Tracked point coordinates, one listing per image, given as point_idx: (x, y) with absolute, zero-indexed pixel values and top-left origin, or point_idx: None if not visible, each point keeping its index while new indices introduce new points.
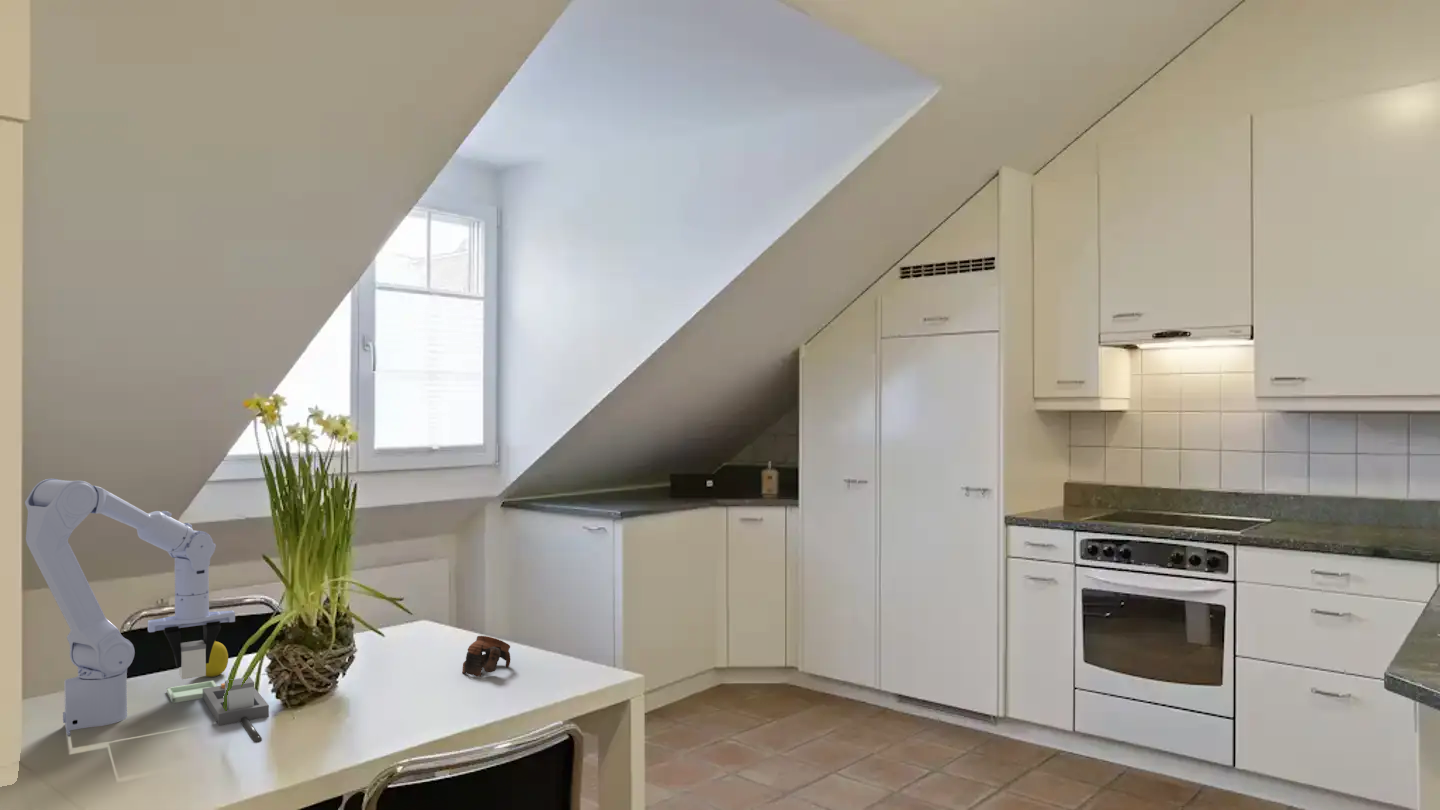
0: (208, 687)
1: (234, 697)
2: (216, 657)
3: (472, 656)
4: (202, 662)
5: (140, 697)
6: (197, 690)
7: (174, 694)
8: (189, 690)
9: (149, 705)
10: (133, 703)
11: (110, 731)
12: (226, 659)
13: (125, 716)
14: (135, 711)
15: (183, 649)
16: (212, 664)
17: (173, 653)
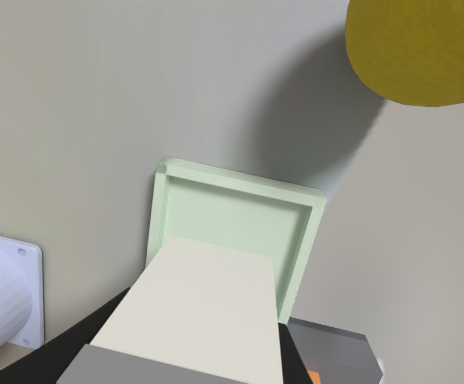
0: (292, 218)
1: None
2: (445, 100)
3: None
4: None
5: (95, 92)
6: (249, 225)
7: (175, 210)
8: (228, 203)
9: (105, 214)
10: (67, 152)
11: (4, 344)
12: None
13: (22, 324)
14: (64, 241)
15: None
16: (395, 101)
17: (69, 329)
